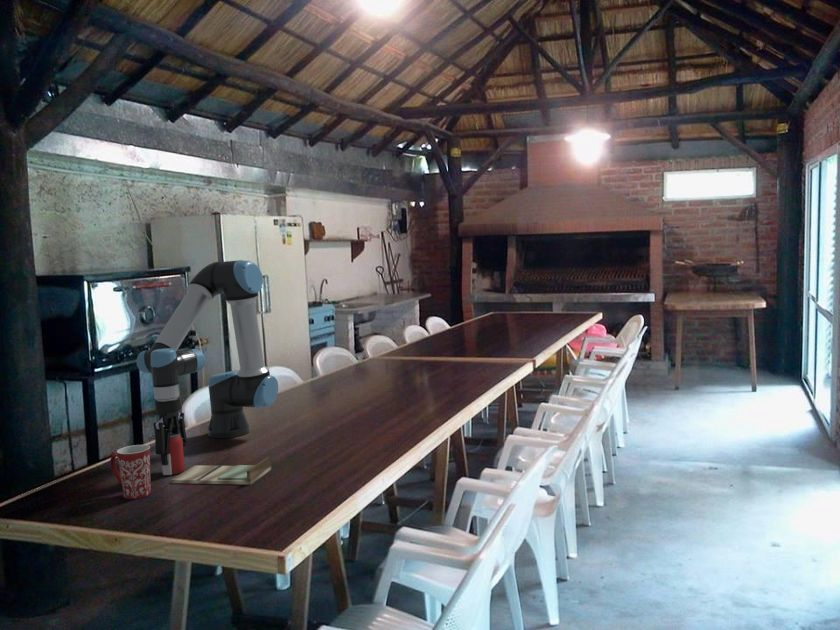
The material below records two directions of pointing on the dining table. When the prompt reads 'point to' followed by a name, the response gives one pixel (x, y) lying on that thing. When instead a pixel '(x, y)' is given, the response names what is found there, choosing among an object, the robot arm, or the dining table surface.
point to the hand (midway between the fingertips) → (174, 470)
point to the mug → (133, 470)
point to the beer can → (176, 453)
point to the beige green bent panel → (224, 474)
